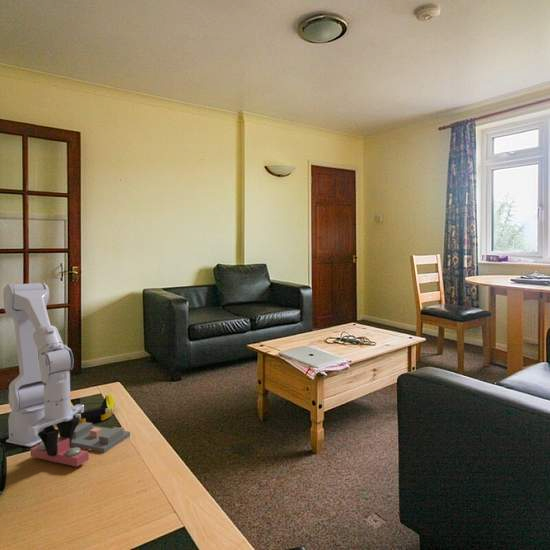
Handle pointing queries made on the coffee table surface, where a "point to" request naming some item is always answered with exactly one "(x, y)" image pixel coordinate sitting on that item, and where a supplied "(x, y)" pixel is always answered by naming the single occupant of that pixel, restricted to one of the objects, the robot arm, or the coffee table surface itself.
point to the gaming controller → (98, 411)
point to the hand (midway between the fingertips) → (59, 451)
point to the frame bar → (61, 453)
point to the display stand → (97, 437)
